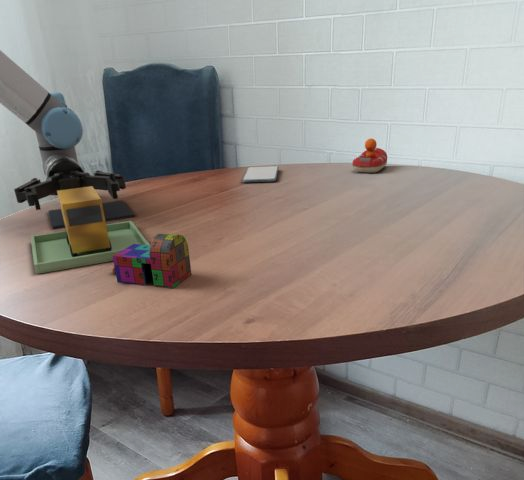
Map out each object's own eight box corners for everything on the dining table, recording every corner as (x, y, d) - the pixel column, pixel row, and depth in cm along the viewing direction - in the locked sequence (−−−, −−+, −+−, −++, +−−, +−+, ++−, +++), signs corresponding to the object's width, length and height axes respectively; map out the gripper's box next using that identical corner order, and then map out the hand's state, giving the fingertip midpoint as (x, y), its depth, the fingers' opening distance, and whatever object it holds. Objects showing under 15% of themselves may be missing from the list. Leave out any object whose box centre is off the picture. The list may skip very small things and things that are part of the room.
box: (36, 274, 84) (33, 264, 83) (32, 244, 98) (30, 235, 97) (151, 254, 89) (150, 245, 89) (132, 228, 103) (131, 220, 103)
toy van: (72, 260, 88) (59, 204, 83) (66, 241, 97) (54, 190, 93) (113, 253, 90) (103, 198, 85) (104, 235, 99) (94, 185, 95)
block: (199, 268, 82) (194, 224, 79) (172, 288, 76) (166, 241, 72) (132, 262, 86) (125, 219, 83) (102, 280, 80) (92, 235, 77)
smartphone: (242, 179, 133) (247, 166, 146) (242, 183, 134) (248, 170, 146) (275, 178, 132) (278, 165, 145) (275, 182, 133) (278, 169, 146)
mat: (53, 228, 106) (52, 226, 106) (48, 212, 117) (48, 210, 117) (134, 216, 111) (133, 214, 111) (122, 202, 122) (122, 200, 122)
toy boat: (389, 165, 144) (391, 135, 140) (378, 174, 135) (380, 142, 131) (361, 164, 147) (362, 135, 143) (349, 173, 138) (350, 141, 134)
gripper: (127, 186, 120) (148, 207, 103) (7, 203, 112) (8, 228, 95) (121, 151, 116) (141, 166, 99) (-3, 165, 108) (-5, 184, 91)
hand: (76, 196), depth 97 cm, fingers open, 13 cm apart
